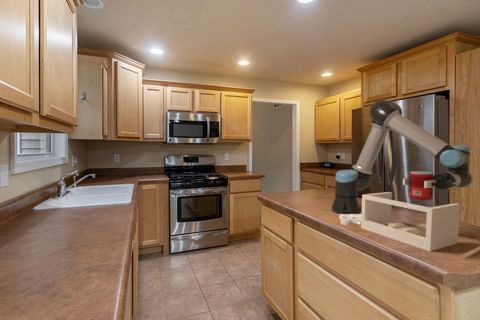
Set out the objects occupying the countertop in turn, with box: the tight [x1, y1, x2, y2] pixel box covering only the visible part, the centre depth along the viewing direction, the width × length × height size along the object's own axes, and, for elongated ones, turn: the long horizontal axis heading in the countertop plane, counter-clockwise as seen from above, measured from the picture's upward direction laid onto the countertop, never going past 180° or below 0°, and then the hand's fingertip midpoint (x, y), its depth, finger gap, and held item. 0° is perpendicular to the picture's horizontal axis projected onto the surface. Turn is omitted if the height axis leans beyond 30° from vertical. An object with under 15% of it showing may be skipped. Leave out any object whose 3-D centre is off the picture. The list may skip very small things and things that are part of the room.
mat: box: [415, 223, 426, 229], centre depth 114 cm, size 13×13×1 cm
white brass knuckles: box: [338, 213, 362, 226], centre depth 125 cm, size 3×18×15 cm
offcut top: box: [387, 222, 420, 234], centre depth 103 cm, size 9×6×2 cm, turn 14°
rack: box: [360, 191, 461, 252], centre depth 104 cm, size 28×18×16 cm, turn 26°
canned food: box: [409, 170, 434, 201], centre depth 107 cm, size 8×8×11 cm
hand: (414, 183), depth 105 cm, fingers closed on canned food, 8 cm apart
